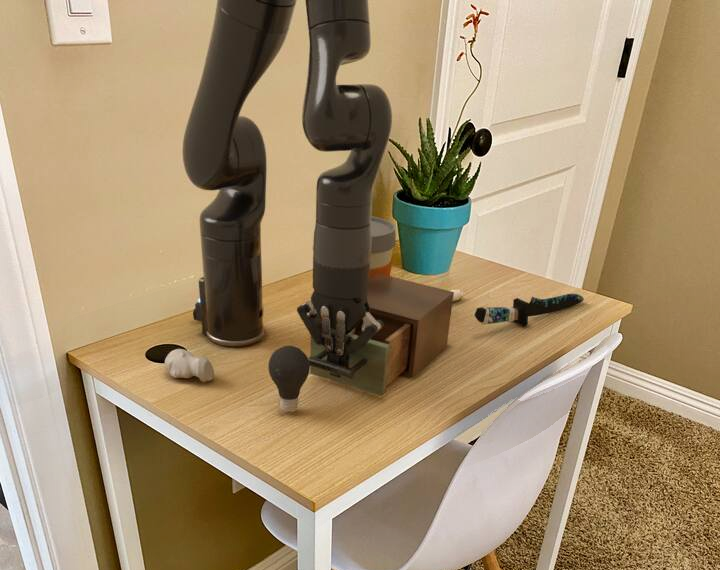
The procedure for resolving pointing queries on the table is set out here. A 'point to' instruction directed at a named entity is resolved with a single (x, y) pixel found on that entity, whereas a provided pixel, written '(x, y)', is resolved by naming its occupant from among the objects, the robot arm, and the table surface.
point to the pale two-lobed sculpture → (188, 365)
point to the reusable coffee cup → (381, 246)
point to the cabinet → (414, 315)
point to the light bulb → (289, 374)
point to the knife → (526, 309)
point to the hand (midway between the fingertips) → (337, 374)
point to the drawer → (369, 357)
